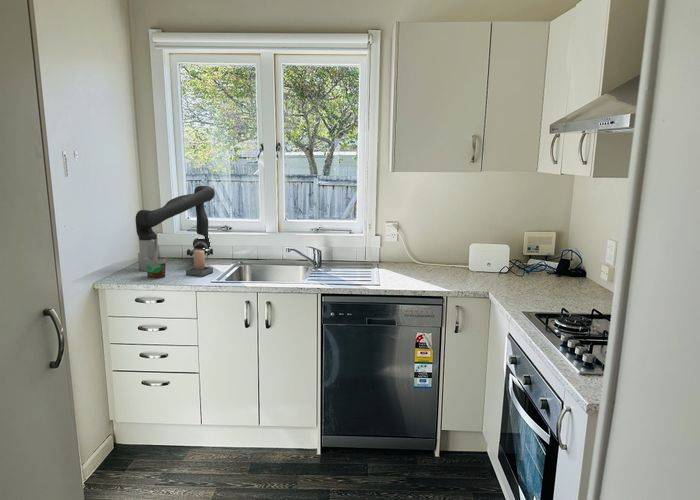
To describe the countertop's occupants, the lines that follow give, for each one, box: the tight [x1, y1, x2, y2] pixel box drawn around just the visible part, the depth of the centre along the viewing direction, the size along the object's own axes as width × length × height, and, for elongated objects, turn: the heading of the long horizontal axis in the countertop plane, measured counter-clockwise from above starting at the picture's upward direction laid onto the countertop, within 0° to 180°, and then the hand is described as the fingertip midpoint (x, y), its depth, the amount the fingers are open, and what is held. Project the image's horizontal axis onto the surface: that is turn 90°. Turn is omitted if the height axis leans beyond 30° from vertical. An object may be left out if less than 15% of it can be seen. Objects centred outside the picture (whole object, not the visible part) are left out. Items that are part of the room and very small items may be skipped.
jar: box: [193, 250, 206, 271], centre depth 256 cm, size 6×6×12 cm
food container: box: [144, 257, 167, 280], centre depth 246 cm, size 12×6×10 cm, turn 73°
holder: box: [185, 266, 214, 278], centre depth 257 cm, size 10×10×3 cm
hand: (199, 254), depth 263 cm, fingers open, 8 cm apart
